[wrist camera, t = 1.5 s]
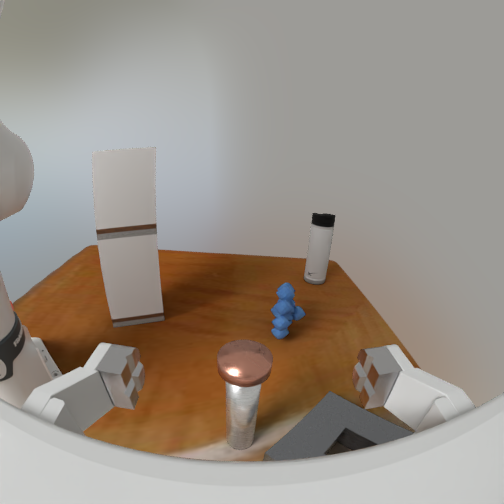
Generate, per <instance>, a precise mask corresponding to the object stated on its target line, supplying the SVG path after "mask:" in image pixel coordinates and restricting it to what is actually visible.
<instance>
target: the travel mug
mask: <svg viewBox="0 0 504 504" xmlns="http://www.w3.org/2000/svg"><path fill="white" fill-rule="evenodd" d="M334 222H335V215H331V214H317V213H313V216H312V223H311V230H310V238H309V246H308V253H307V260H306V267H305V274H304V280H305V281H306V282H308V283H311V284H322V283H324V282H325V278H326V272H327V267H328V261H329V255H330V248H331V243H332V236H333V230H334Z"/></svg>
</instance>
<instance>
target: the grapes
mask: <svg viewBox="0 0 504 504" xmlns="http://www.w3.org/2000/svg"><path fill="white" fill-rule="evenodd" d="M294 292H295V290H294V288H293V287H292V285H291V284H290V283H287V282H286V283H284V284H282V285H281V286H280V287H279V288H278V291H277V292H276V293H277V295H278V297H279V300H278V302H277V303H276V304H275V305H274V307H273V308H272V309H271V311H272V313H273V315H274V316H275V317H276V318H275V319H274V320H273V321H272V323H273V325H274V326H275V327H274V328H273V329H272V330H271V331H272V333H273V335H274V336H275V337H276V338H277V339H282V338H284V337H285V336H286V335H288V334H289V331H288V329H287V328H288V326H289V325H290V324H291V323H293V322H292V320H296V321H298V320H300V319H301V318H302V317H304V316H305V315H306V314H305V312H304V311H303V309H302V308H301V307H299V306H296V307H295V304H294V303H295V302H294V300H293V298H294V296H295V295H294Z"/></svg>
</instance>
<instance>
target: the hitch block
mask: <svg viewBox="0 0 504 504" xmlns="http://www.w3.org/2000/svg"><path fill="white" fill-rule="evenodd" d="M410 435H413V432H411V431H408V430H406V429H404V428H402V427H400V426H397V425H395V424H393V423H391V422H389V421H387V420H385V419H383V418H381V417H379V416H377V415H375V414H373V413H371V412H369V411H367V410H365V409H363V408H361V407H359V406H357V405H355V404H353V403H351V402H349V401H347V400H345V399H344V398H342V397H340V396H338V395H336V394H334V393H333V392H331V391H329V392H328V394H327V395H326V396H325V397H324V398H323V399H322V400H321V401H320V402H319V403H318V404H317V405H316V406H315V407H314V408H313V409H312V410H311V411H310V412H309V413H308V414H307V415H306V416H305V417H304V418H303V419H302V420H301V421H300V422H299V423H298V424H297V425H296V426H295V427H294V428H293V429H292V430H290V431H289V432H288V433H287V434H286V435H285V436H284V437H283V438H282V439H281V440H279V441H278V442H277V443H276V444H275V445H274V446H272V447H271V448H270V449H269V450H268V451H267V452H265V455H264V459H263V461H279V460H293V459H303V458H312V457H319V456H326V454H327V453H328V452H329V450H330V449H331V448H332V447H333V446H334V444H335V443H336V442H339V443H341V444H342V445H344V446H346V447H348V448H350V449H352V450H359V449H363V448H367V447H371V446H375V445H379V444H383V443H387V442H390V441H394V440H397V439H400V438H404V437H407V436H410Z"/></svg>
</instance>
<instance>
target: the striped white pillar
mask: <svg viewBox="0 0 504 504" xmlns="http://www.w3.org/2000/svg"><path fill="white" fill-rule="evenodd" d="M155 160H156V147H150V148H132V149H118V150H105V151H95V152H92V166H93V168H92V169H93V196H94V210H95V222H96V232H97V240H98V248H99V255H100V262H101V268H102V274H103V280H104V285H105V290H106V295H107V300H108V305H109V309H110V314H111V318H112V322H113V326H114V327H121V326H128V325H135V324H143V323H150V322H156V321H163V320H165V319H164V311H163V303H162V294H161V284H160V273H159V261H158V248H157V247H158V246H157V229H156V197H155V196H156V195H155V162H156V161H155Z"/></svg>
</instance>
